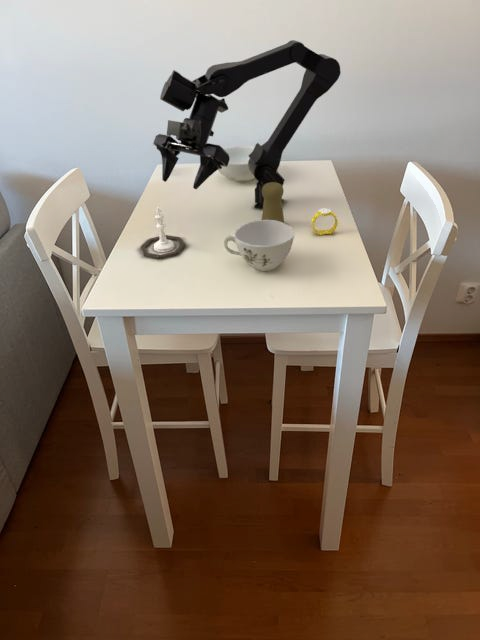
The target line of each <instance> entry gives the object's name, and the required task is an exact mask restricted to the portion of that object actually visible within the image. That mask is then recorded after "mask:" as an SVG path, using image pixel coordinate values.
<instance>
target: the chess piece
mask: <svg viewBox="0 0 480 640" xmlns="http://www.w3.org/2000/svg"><path fill="white" fill-rule="evenodd" d="M155 209H156V210H155V211H154V213H155V215H154V219H155V221H156V222H157V224H156V225H155V227H156V228H157V229H158V232H159V234H158V237H159V241H155V242H154V244H153V250H154V251H156V252H158V253H168V252H170V251H172V250H173V249H174V248H175V246H176V245H175V243H174V242H175V241H174V240H168V239H166V233H165V229H164V228H165V227H166V224H165V223H164V214H162V213H161V212H162V208H160V207H159V206H158V207H156V208H155Z"/></svg>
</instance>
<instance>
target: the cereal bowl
mask: <svg viewBox="0 0 480 640" xmlns="http://www.w3.org/2000/svg"><path fill="white" fill-rule="evenodd" d="M254 148H255V146H252V145H238V146H229V147H226V148H223V149H224V150H225V151H226V152H227V153H228V154H229V158H230V160H229V163H228V166H227V167H225V166H222V169H218V170H217V171H218V172H219V173H220V174H221V175H222V176H224V177H226V178H228V179H231V180H232V181H235V182H239V183H240V182H250V181H252V180H254V179H256V178H255V177H254V175H253V174H252V173H251V171H250V170H249V167H248V161H249V159H250V158H249V155H250V154H251V153H252V152H253V150H254Z"/></svg>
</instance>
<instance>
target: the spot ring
mask: <svg viewBox="0 0 480 640" xmlns="http://www.w3.org/2000/svg"><path fill="white" fill-rule="evenodd" d="M165 236H166V239H168V240H171V241H173V242H177V243H178V245H179V246H178V247H177V248H176V249H175V250H174V251H171V252H165V253H163V254H157V253H152V252H148V250H147V247H148V246H150V245H151V244H152V243H156V242H157V241H159V236H155V237H151V238H148V239H147V240H146V241H145V242H143V243H142V244H141V245H140V247H139V248H140V251H141V253H142V255H143V256H144V257H145V258H150V259H155V260H164V259H169V258H172V257H175V256H177V255H179V254H180V253H181V252H183V250H184V249H185V248H186V244H185V242H184V241H183V239H182V237H180V236H174V235H166V234H165Z"/></svg>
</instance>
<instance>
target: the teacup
mask: <svg viewBox="0 0 480 640" xmlns="http://www.w3.org/2000/svg"><path fill="white" fill-rule="evenodd" d="M294 239H295V230H294V229H293V228H292V226H290V225H288V224H287V223H285V222H284V223H282V222H279V221H275V220H262V219H260V220H252V221H249V222H246V223H244V224H241V225H240V227H239V228H236V230H235V231H234V236H233V235H227V236H226V237H225V238H224V240H223V245H224V249H225V250H226V251H227V252H228V253H230V254H231V255H235V256H239V257H241V258H242V259H243V260H244V261H245V262H246V263H247V264H248V265H249V266H251V268H253V269H255V270H257V271H261V272H269V271H273V270H275V269H276V268H277V267H278V266H280V264H282V263H283V262H284V260H285V259H286V258H287V257H288V255H289V253H290V251H291V249H292V246H293V242H294ZM230 241H231V242H233V243H234V244H235V245H236V248H237V251H236V250H233V249H231V248H230V247H229V246H228V243H229V242H230Z"/></svg>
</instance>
